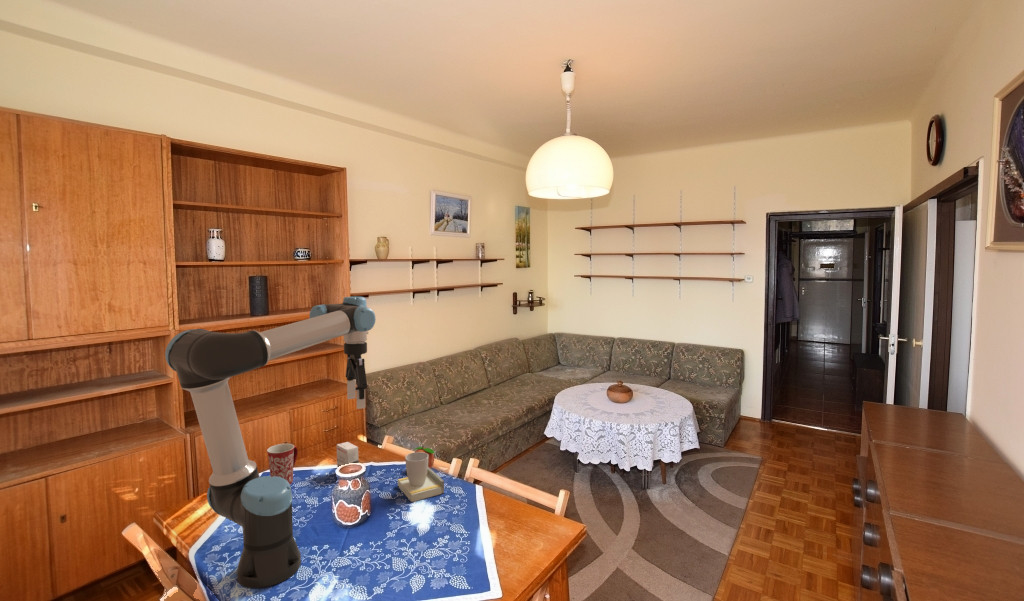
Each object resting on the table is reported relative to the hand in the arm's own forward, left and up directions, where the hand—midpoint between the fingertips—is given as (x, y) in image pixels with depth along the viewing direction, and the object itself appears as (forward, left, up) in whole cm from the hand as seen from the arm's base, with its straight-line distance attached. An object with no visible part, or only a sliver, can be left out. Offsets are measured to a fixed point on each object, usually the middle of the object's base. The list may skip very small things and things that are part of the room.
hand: (356, 403), depth 166 cm
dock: (-7, -20, -33) cm, 39 cm away
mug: (+26, +20, -33) cm, 47 cm away
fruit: (+8, -27, -33) cm, 44 cm away
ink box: (+19, -1, -33) cm, 38 cm away
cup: (-7, -19, -31) cm, 37 cm away
